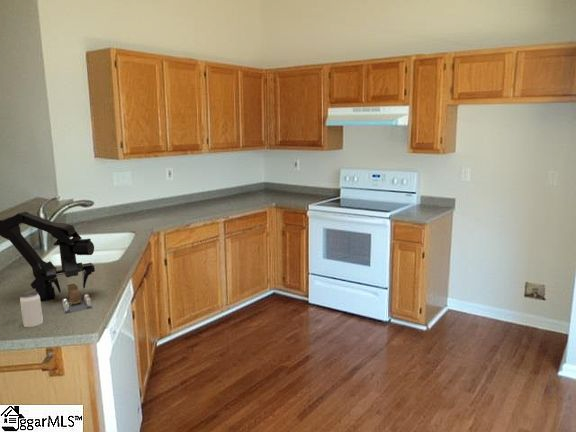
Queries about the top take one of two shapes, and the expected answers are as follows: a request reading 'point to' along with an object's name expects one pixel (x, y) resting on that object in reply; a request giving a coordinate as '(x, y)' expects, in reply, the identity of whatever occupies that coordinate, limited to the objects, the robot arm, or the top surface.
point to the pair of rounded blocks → (86, 299)
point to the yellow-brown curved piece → (75, 303)
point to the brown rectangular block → (73, 293)
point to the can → (31, 309)
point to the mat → (77, 307)
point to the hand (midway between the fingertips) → (72, 290)
